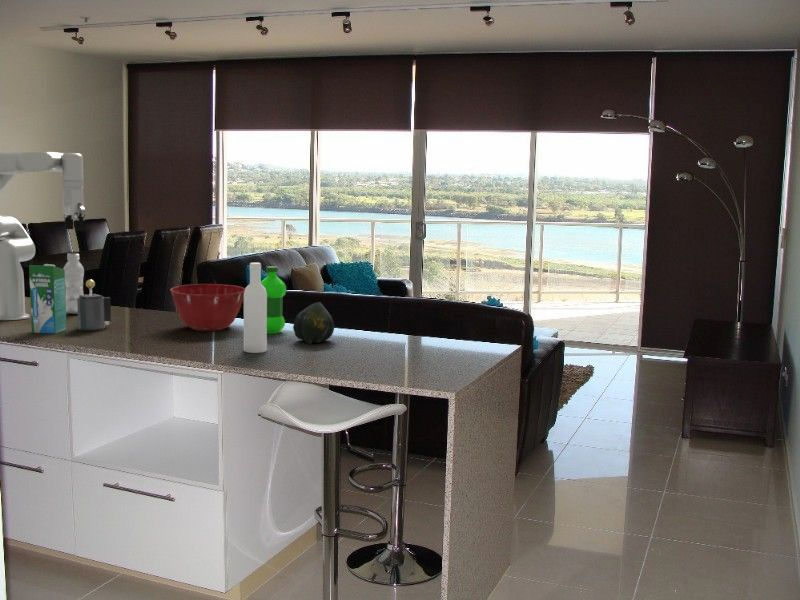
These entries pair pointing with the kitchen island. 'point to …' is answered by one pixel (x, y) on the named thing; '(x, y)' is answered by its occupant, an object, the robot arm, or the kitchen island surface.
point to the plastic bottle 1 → (73, 282)
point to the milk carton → (47, 299)
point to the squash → (314, 324)
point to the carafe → (93, 312)
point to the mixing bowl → (208, 305)
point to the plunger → (90, 286)
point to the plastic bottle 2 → (274, 300)
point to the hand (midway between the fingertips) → (74, 230)
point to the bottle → (255, 313)
